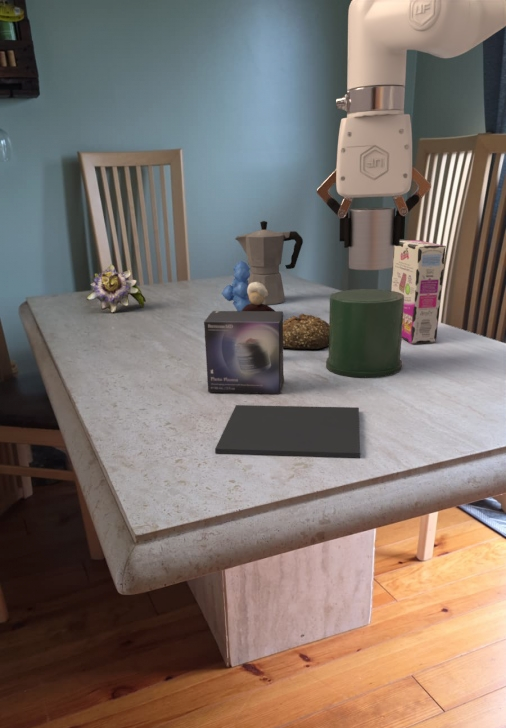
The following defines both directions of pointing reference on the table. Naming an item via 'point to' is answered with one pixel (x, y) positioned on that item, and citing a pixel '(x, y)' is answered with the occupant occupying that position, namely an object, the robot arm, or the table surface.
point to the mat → (292, 431)
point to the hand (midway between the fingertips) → (371, 244)
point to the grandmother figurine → (257, 298)
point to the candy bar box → (419, 287)
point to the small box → (244, 351)
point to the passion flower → (114, 289)
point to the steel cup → (371, 238)
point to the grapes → (238, 287)
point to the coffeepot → (269, 259)
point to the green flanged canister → (365, 333)
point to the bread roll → (305, 332)
